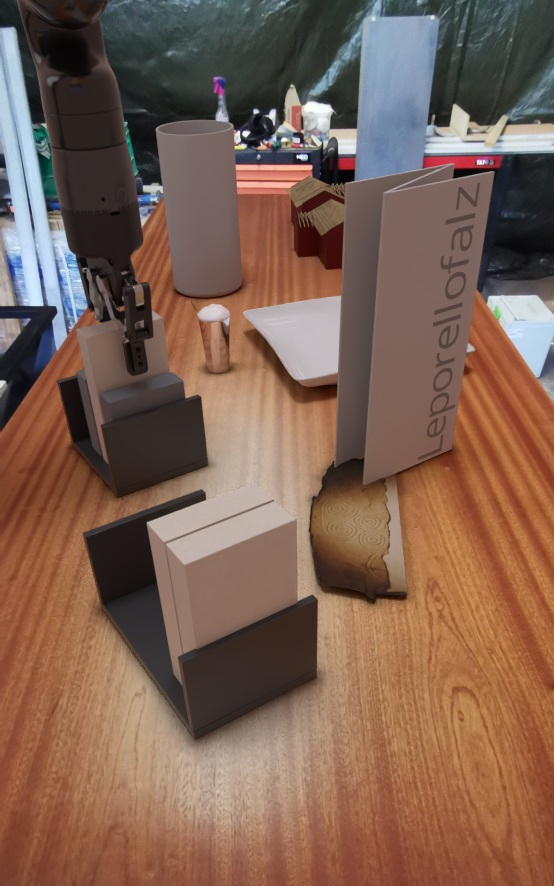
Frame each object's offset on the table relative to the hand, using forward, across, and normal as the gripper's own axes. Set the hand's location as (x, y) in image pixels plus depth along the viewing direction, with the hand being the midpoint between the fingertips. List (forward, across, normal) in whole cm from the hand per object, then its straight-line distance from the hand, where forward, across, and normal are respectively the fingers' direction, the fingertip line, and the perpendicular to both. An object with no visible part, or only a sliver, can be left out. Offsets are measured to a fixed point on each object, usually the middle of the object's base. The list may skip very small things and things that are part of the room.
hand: (126, 363), depth 82 cm
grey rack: (+12, -1, 0) cm, 13 cm away
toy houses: (+13, -50, +69) cm, 87 cm away
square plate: (+13, -10, +40) cm, 43 cm away
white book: (+11, 0, 0) cm, 11 cm away
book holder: (+12, +32, -9) cm, 35 cm away
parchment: (+13, +26, +13) cm, 32 cm away
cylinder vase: (+13, -48, +36) cm, 61 cm away
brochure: (+12, +18, +25) cm, 33 cm away
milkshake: (+13, -17, +20) cm, 29 cm away
